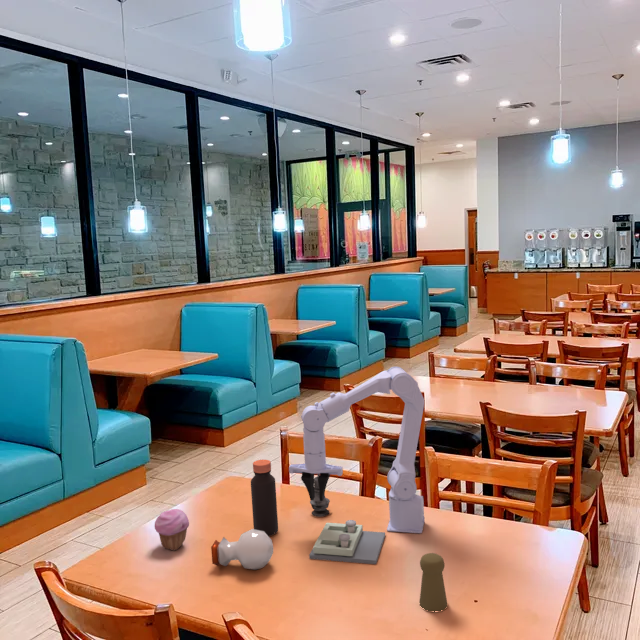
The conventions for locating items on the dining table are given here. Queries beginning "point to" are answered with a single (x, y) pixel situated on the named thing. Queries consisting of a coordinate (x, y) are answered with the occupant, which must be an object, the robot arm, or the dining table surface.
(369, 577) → the dining table surface
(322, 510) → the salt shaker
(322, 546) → the panel
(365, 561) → the boss board
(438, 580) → the olive pawn
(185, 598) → the dining table surface
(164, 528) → the cupcake
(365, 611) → the dining table surface
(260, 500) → the vinegar
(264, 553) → the potion bottle
